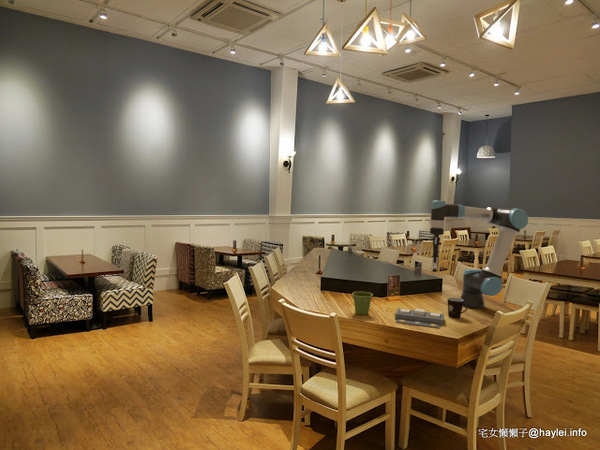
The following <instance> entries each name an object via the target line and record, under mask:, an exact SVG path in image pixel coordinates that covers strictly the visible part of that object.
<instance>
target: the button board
mask: <svg viewBox="0 0 600 450" xmlns="http://www.w3.org/2000/svg"><path fill="white" fill-rule="evenodd" d="M401 309H402V308H399V307H398V308H397V310H396V312H395V314H394V319H395V320H397V319H404V320H411V321H419V322H426V323H433V324H440V326H443V325H444V320H445V314H444V313H439V312H437V313H438V314H440V318H437V317H430V313H433V312H430V311H425V315H424V316H421V315H415V309H407V310H410V314H406V313H400V310H401Z"/></svg>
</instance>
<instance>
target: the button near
mask: <svg viewBox="0 0 600 450" xmlns="http://www.w3.org/2000/svg"><path fill="white" fill-rule="evenodd" d="M438 313H439V312H432V313H430V317H437V318H440V314H441V313H440V314H438Z"/></svg>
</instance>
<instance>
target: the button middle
mask: <svg viewBox="0 0 600 450" xmlns="http://www.w3.org/2000/svg"><path fill="white" fill-rule="evenodd" d="M414 310H415V315H421V316H424V315H425V312H426V309H422V308H415V309H414Z"/></svg>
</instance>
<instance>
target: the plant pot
mask: <svg viewBox="0 0 600 450" xmlns="http://www.w3.org/2000/svg"><path fill="white" fill-rule="evenodd" d="M351 295H352V297H353V303H354V312H355V314H356V315H359V316H360V315H361V316H362V315H363V316H366V315H369V312H370V307H371V301H372V298H373V296H374V294H373V293H372V292H367V291H354V292H352V293H351Z"/></svg>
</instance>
